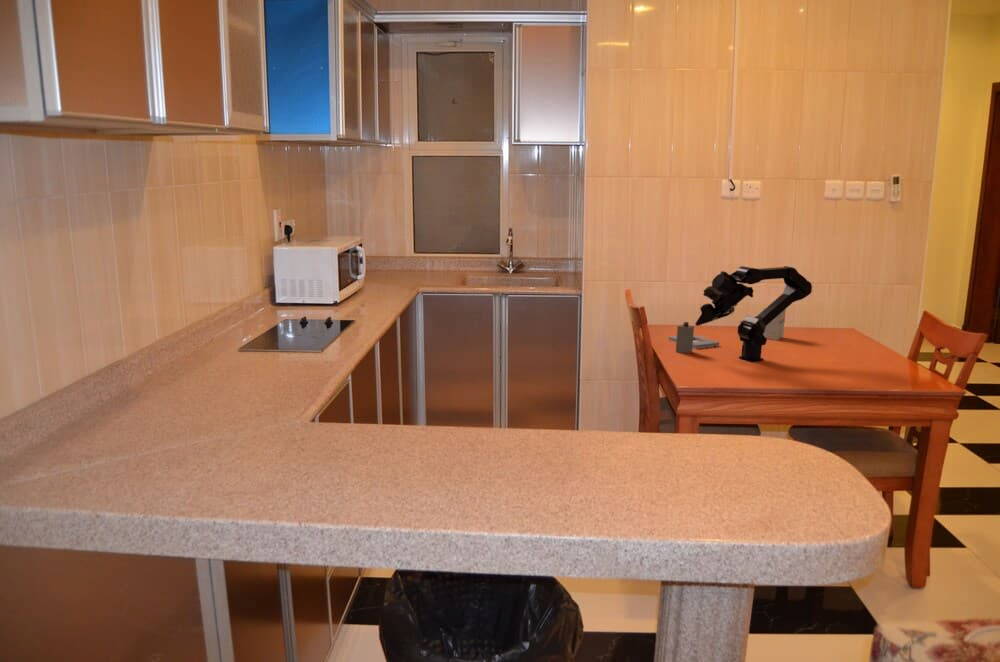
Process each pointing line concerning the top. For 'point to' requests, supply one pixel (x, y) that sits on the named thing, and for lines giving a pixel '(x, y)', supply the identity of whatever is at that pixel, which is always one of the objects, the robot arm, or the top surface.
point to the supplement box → (775, 327)
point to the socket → (698, 342)
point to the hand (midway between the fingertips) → (701, 322)
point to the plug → (684, 338)
